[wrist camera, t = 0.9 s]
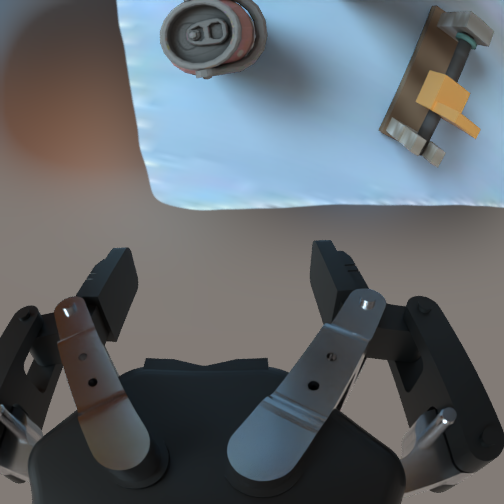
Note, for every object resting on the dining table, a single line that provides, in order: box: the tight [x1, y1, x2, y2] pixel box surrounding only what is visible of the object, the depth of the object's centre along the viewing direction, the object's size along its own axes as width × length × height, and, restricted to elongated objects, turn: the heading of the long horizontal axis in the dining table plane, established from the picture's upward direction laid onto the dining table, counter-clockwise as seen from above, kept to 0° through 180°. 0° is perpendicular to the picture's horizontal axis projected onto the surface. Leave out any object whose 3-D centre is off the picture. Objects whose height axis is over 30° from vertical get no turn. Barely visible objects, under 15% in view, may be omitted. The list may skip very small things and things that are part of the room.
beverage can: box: [160, 0, 267, 79], centre depth 23 cm, size 9×8×12 cm
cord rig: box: [379, 6, 494, 168], centre depth 24 cm, size 20×6×8 cm, turn 163°
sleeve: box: [416, 70, 481, 139], centre depth 22 cm, size 4×4×8 cm
